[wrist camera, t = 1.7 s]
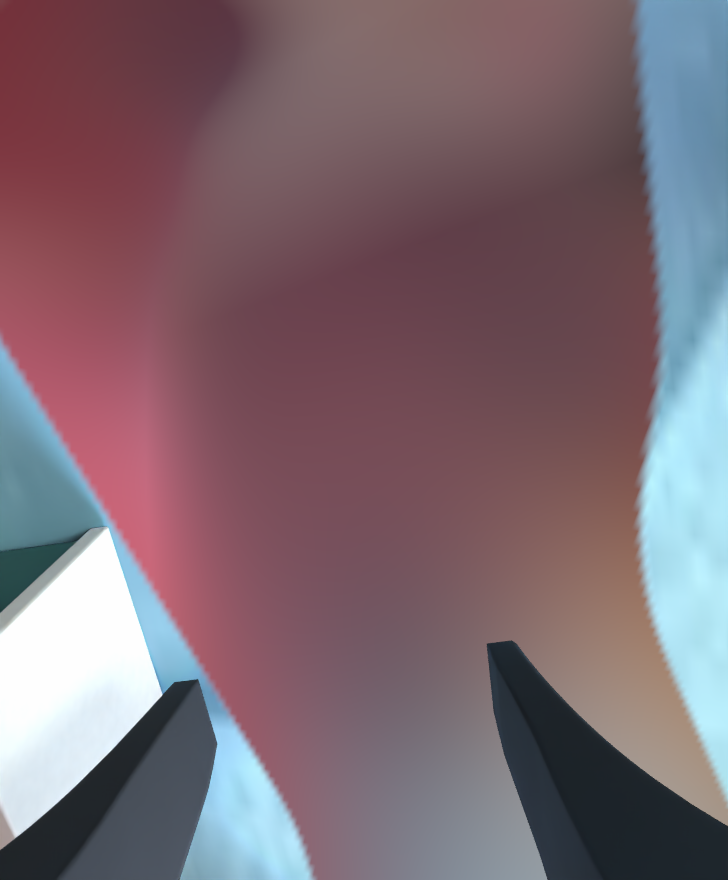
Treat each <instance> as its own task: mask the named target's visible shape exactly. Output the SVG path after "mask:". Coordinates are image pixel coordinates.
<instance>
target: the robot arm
mask: <svg viewBox="0 0 728 880" xmlns="http://www.w3.org/2000/svg"><path fill="white" fill-rule="evenodd" d="M487 651H488V661H489V670H490V680H491V690H492V700H493V709H494V715H495V718H496V723H497V727H498V731H499V735H500V739H501V743H502V747H503V751H504V755H505V758H506V761H507V764H508V767H509V769H510V772H511V775H512V778H513V781H514V783H515V786H516V789H517V792H518V795H519V797H520V800H521V803H522V806H523V809H524V812H525V814H526V817H527V820H528V823H529V825H530V828H531V831H532V834H533V837H534V839H535V842H536V845H537V848H538V851H539V853H540V857H541V860H542V863H543V866H544V870H545V873H546V876H547V879H548V880H728V826H727V825H725V824H723V823H721V822H720V821H718V820H716V819H715V818H713V817H711V816H710V815H708V814H707V813H705V812H703V811H702V810H700V809H699V808H697V807H695V806H694V805H692V804H690V803H689V802H688V801H686V800H685V799H683V798H682V797H680V796H679V795H677V794H676V793H674V792H673V791H671V790H670V789H668V788H667V787H666V786H664V785H663V784H661V783H660V782H658V781H657V780H655V779H654V778H653V777H651V776H650V775H649V774H647V773H646V772H645V771H643V770H642V769H640V768H639V767H638V766H637V765H636V764H634V763H633V762H632V761H630V760H629V759H628V758H627V757H625V756H624V755H623V754H622V753H621V752H619V751H618V750H617V749H616V748H615V747H613V746H612V745H611V744H610V743H609V742H608V741H606V740H605V739H604V738H603V737H602V736H601V735H600V734H598V733H597V732H596V731H595V730H594V729H593V728H592V727H591V726H590V725H589V724H588V723H587V722H586V721H585V720H584V719H583V718H581V717H580V716H579V715H578V714H577V713H576V712H575V711H574V710H573V709H572V708H571V707H570V706H569V705H568V704H567V703H566V702H565V700H564V699H563V698H562V697H561V696H560V695H559V694H558V693H557V692H556V691H555V690H554V689H553V688H552V687H551V686H550V684H549V683H548V682H547V681H546V680H545V679H544V678H543V677H542V675H541V674H540V673H539V672H538V671H537V669H536V668H535V667H534V666H533V665H532V663H531V662H530V661H529V660H528V658H527V657H526V656H525V655H524V653H523V652H522V651H521V649H520V648H519V647H518V645H517V644H516V643H515V642H513V641H505V642H496V643H488V644H487ZM216 748H217V741H216V738H215V734H214V731H213V728H212V724H211V721H210V718H209V714H208V711H207V707H206V704H205V701H204V697H203V694H202V690H201V687H200V684H199V680H198V679H197V680H189V681H181V682H174V683H173V684H172V685H171V687H170V688H169V689H168V690H167V691H166V692H165V693H164V694H163V695H162V696H161V697H160V698H159V699H158V700H157V701H156V703H155V704H154V705H153V706H152V707H151V708H150V709H149V710H148V711H147V712H146V714H145V715H144V716H143V717H142V718H141V719H140V720H139V721H138V722H137V723H136V725H135V726H134V727H133V728H132V729H131V730H130V731H129V732H128V733H127V734H126V735H125V736H124V737H123V738H122V740H121V741H120V742H119V743H118V744H117V745H116V746H115V747H114V748H113V749H112V750H111V751H110V752H109V753H108V754H107V755H106V756H105V757H104V758H103V759H102V760H101V761H100V762H99V763H98V764H97V765H96V766H95V767H94V768H93V769H92V770H91V771H90V772H89V773H88V774H87V775H86V776H85V777H84V778H83V779H82V780H81V781H80V782H79V783H78V784H77V785H76V786H75V787H74V788H73V789H72V790H71V791H70V792H69V793H68V794H66V795H65V796H64V797H63V798H62V799H61V800H60V801H59V802H58V803H57V804H55V805H54V806H53V807H52V808H51V809H50V810H49V811H47V812H46V813H45V814H44V815H43V816H42V817H40V818H39V819H38V820H37V821H36V822H35V823H33V824H32V825H31V826H30V827H29V828H27V829H26V830H25V831H24V832H22V833H21V834H20V835H19V836H17V837H16V838H15V839H14V840H12V841H11V842H10V843H8V844H7V845H6V846H5V847H3V848H2V849H1V850H0V880H179V879H180V876H181V873H182V870H183V867H184V864H185V861H186V858H187V855H188V852H189V849H190V845H191V842H192V839H193V836H194V833H195V830H196V827H197V824H198V821H199V817H200V814H201V811H202V808H203V805H204V802H205V798H206V795H207V792H208V788H209V784H210V779H211V774H212V770H213V764H214V759H215V753H216Z"/></svg>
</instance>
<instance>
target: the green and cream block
mask: <svg viewBox="0 0 728 880" xmlns="http://www.w3.org/2000/svg"><path fill="white" fill-rule="evenodd" d="M161 696H162V692H161V688H160V685H159V682H158V679H157V676H156V673H155V670H154V667H153V664H152V661H151V658H150V655H149V652H148V648H147V645H146V642H145V639H144V636H143V633H142V630H141V627H140V624H139V621H138V618H137V615H136V612H135V608H134V605H133V602H132V599H131V596H130V593H129V590H128V587H127V584H126V581H125V578H124V575H123V572H122V569H121V565H120V562H119V559H118V556H117V553H116V550H115V547H114V544H113V541H112V538H111V535H110V532H109V529H108V527H99V528H92V529H90V530H89V531H88V532H87V533H85V534H84V535H83V536H82V537H81V538H80V539H79V540H78V541H75V542H68V543H61V544H53V545H46V546H39V547H32V548H25V549H18V550H11V551H4V552H0V850H1V849H2V848H3V847H5V846H6V845H7V844H8V843H10V842H11V841H12V840H14V839H15V838H16V837H17V836H19V835H20V834H21V833H22V832H24V831H25V830H26V829H27V828H29V827H30V826H31V825H32V824H33V823H35V822H36V821H37V820H38V819H39V818H40V817H42V816H43V815H44V814H45V813H46V812H47V811H49V810H50V809H51V808H52V807H53V806H54V805H55V804H57V803H58V802H59V801H60V800H61V799H62V798H63V797H64V796H65V795H66V794H68V793H69V792H70V791H71V790H72V789H73V788H74V787H75V786H76V785H77V784H78V783H79V782H80V781H81V780H82V779H83V778H84V777H85V776H86V775H87V774H88V773H89V772H90V771H91V770H92V769H93V768H94V767H95V766H96V765H97V764H98V763H99V762H100V761H101V760H102V759H103V758H104V757H105V756H106V755H107V754H108V753H109V752H110V751H111V750H112V749H113V748H114V747H115V746H116V745H117V744H118V743H119V742H120V741H121V740H122V738H123V737H124V736H125V735H126V734H127V733H128V732H129V731H130V730H131V729H132V728H133V727H134V726H135V725H136V723H137V722H138V721H139V720H140V719H141V718H142V717H143V716H144V715H145V714H146V712H147V711H148V710H149V709H150V708H151V707H152V706H153V705H154V704H155V703H156V701H157V700H158V699H159V698H160V697H161Z"/></svg>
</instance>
